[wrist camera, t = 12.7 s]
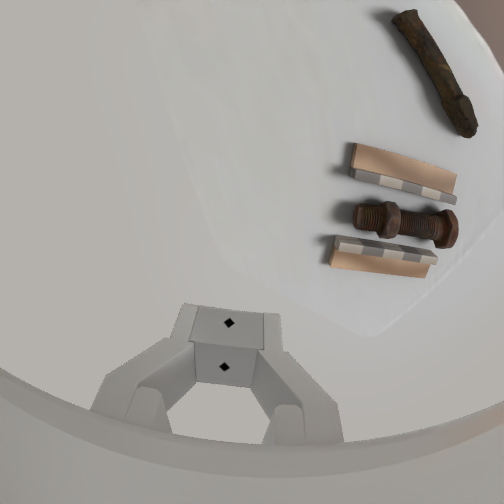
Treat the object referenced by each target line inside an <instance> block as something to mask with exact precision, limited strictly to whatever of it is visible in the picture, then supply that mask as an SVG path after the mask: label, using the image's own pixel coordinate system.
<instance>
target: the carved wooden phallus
mask: <svg viewBox="0 0 504 504" xmlns="http://www.w3.org/2000/svg"><path fill="white" fill-rule="evenodd" d="M392 22H393V23H395V24H397V25H398V29H399V31H400V32H403V33H404V35H405V36H406V37H407V39H408V40H409V42H410V44H411V45H412V46H413V48H414V49H415V50H416V52H417V54H418V55H419V57H420V59H421V61H422V64H423V65H424V66H425V67H426V69H427V71H428V73H429V75H430V76H431V78H432V80H433V82H434V83H435V85H436V87H437V89H438V91H439V93H440V95H441V97H442V105H443V107H444V109H445V111H446V113H447V115H448V116H449V118H450V120H451V121H452V123H453V124H454V126H455V127H456V129H457V130H458V132H459V133H460V135H461V136H462V137H464V138H471V137H472V136H474V135H475V134H476V132H477V127H478V123H477V119H476V117H475V114H474V110H473V106H472V104H471V101H470V99H469V98H468V97H467V96H465V95H463V92H462V91H461V89H460V87H459V85H458V83H457V81H456V79H455V77H454V75H453V73H452V71H451V69H450V67H449V65H448V63H447V61H446V59H445V58H444V56H443V54H442V53H441V51H440V49H439V47H438V46H437V44H436V42H435V41H434V39H433V38H432V36H431V34H430V33H429V32H428V30H427V29H426V27H425V26H424V24H423V22H422V21H421V20H420V18H419V16H418V12H417V10H415V9H413V10H406V11H404V12H402V13H400V14H398V15H396V16H395V17H394V18H393V19H392Z"/></svg>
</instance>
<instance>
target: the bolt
mask: <svg viewBox="0 0 504 504" xmlns="http://www.w3.org/2000/svg"><path fill="white" fill-rule="evenodd" d="M353 225H354V227H355V228H356V229H359V230H360V229H361V230H362V229H363V230H368V231H376V233H377V235H378V236H379V238H384V239H390V238H394V237H395V236H396V235H397V234H398V235H399V234H400V235H407V236H415V237H421V238H428V239H430V240H433V241H434V244H435V247H436V248H439V249H445V248H451V247H453V245H454V244H455V242H456V240H457V237H458V231H459V230H458V220H457V218H456V216H455V214H454V213H453V211H452V210H448V209H445V210H443V211H440V212H438V213H436V215H432V216H431V215H427V214H421V213H415V212H410V211H403V210H400V209H399V207H398V206H397V204H396V203H395V202H390V201H386V202H383V203H381V204H380V205H379V207H378V206H373V205H372V206H371V205H364V204H359V205H356V206H355V209H354V214H353Z"/></svg>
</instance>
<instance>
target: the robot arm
mask: <svg viewBox="0 0 504 504" xmlns="http://www.w3.org/2000/svg"><path fill="white" fill-rule="evenodd" d="M196 382H204V383H212V384H222V385H223V384H224V385H229V386H237V387H246V388H251V391H252V392H253V394H254V395H255V397H256V399H257V400H258V402H259V404H260V405H261V407H262V408H263V410H264V411H265V413H266V414H267V416H268V418H269V419H270V423H269V426H268V428H267V431H266V434H265V437H264V439H263V441H262V444H245V443H233V442H224V441H215V440H207V439H200V438H194V437H188V436H182V435H177V434H173V433H172V430H171V427H170V423H169V420H168V416H167V411H168V410H169V409H170V408H171V407H172V406H173V405H174V404H175V403H176V402H177V401H178V400H179V399H180V398H181V397H182V396H184V395H185V394H186V393H187V392H188V391H189V390H190V389H191V388H192V387H193V386H194V385H195V384H196ZM0 504H504V401H502V402H500V403H498V404H495V405H493V406H491V407H488V408H486V409H484V410H481V411H478V412H476V413H473V414H470V415H467V416H464V417H462V418H459V419H456V420H453V421H449V422H446V423H443V424H439V425H436V426H432V427H428V428H425V429H420V430H416V431H412V432H408V433H403V434H398V435H393V436H387V437H382V438H376V439H369V440H362V441H353V442H344V439H343V433H342V427H341V422H340V416H339V411H338V406H337V403H336V402H335V401H334V400H333V399H332V398H331V397H330V396H329V395H328V394H327V393H326V392H325V391H324V390H323V388H322V387H321V386H320V385H319V384H318V383H317V382H316V381H315V380H314V379H313V378H312V377H311V376H310V375H309V374H308V373H307V372H306V371H305V370H304V369H303V367H302V366H301V365H300V364H299V363H298V362H297V361H296V360H295V359H294V358H293V357H292V356H291V355H290V354H289V352H283V345H282V331H281V319H280V315H279V314H276V313H256V312H247V311H237V310H229V309H221V308H215V307H207V306H201V305H200V306H199V305H193V304H187V303H184V304H183V305H182V307H181V309H180V312H179V314H178V317H177V320H176V323H175V325H174V328H173V331H172V333H171V336H170V338H164V339H162V340H161V341H159V342H157V343H156V344H154V345H153V346H151V347H150V348H148V349H147V350H145V351H143V352H142V353H140V354H139V355H137V356H136V357H134V358H133V359H131V360H129V361H128V362H126V363H124V364H123V365H121V366H120V367H118V368H117V369H115V370H113V371H112V372H110V373H109V374H107V375H106V376H105V378H104V380H103V383H102V385H101V387H100V389H99V391H98V393H97V395H96V398H95V400H94V402H93V404H92V406H91V409H90V410H87V409H84V408H82V407H79V406H76V405H74V404H72V403H69V402H67V401H64V400H62V399H60V398H57V397H55V396H53V395H51V394H49V393H46V392H44V391H42V390H40V389H38V388H36V387H34V386H32V385H30V384H28V383H26V382H24V381H22V380H21V379H19V378H17V377H15V376H14V375H12V374H10V373H8V372H7V371H5V370H3V369H2V368H0Z"/></svg>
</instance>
